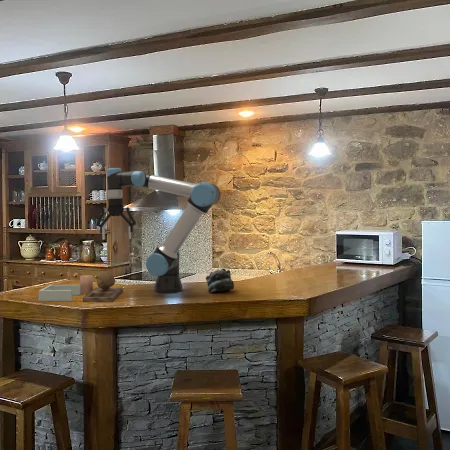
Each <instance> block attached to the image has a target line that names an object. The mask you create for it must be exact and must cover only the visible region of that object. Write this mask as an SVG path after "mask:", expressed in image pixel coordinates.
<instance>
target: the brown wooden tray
mask: <svg viewBox="0 0 450 450" xmlns="http://www.w3.org/2000/svg"><path fill="white" fill-rule="evenodd" d="M123 292H124V289H123V287H110V288H109V289H107V290H102V289H101V288H99V287H95V288H93V291H91V292H90V293H89V294H85V295H84V296H83V297H82V303H113V302H114V301H115V300H116V299H117V298H118V297H119V296H120V295H121V294H122V293H123ZM114 299H115V300H114ZM113 300H114V301H113ZM112 301H113V302H112Z"/></svg>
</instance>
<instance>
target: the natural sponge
mask: <svg viewBox="0 0 450 450" xmlns="http://www.w3.org/2000/svg"><path fill="white" fill-rule="evenodd" d="M96 280H97V282H96V285H97V288H101V289H102V290H107V289H109V288H112V287H113V286H114V285H116V279H115V277H114V275H113V274H112V272H110V271H108V270H105V271H101V272H100V273H99V274H98V275H97V278H96Z"/></svg>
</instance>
